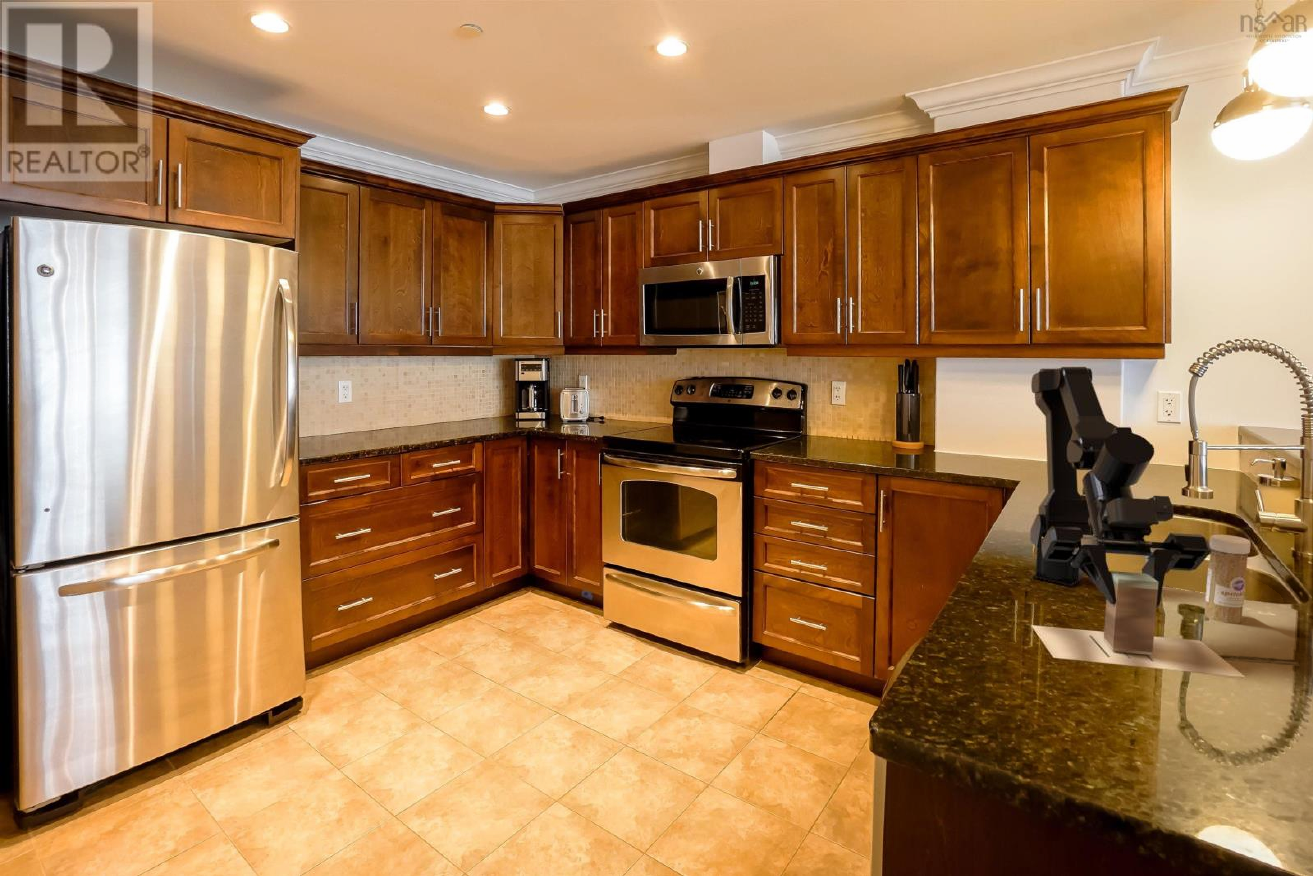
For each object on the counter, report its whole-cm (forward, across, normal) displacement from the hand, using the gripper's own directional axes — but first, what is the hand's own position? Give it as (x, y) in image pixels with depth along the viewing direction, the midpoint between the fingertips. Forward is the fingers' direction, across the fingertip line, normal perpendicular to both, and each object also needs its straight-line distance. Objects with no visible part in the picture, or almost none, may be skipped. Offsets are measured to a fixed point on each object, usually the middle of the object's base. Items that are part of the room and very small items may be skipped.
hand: (1135, 604), depth 87 cm
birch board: (+4, 0, +7) cm, 8 cm away
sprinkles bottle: (-7, +18, +18) cm, 27 cm away
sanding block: (+4, 0, +6) cm, 7 cm away
